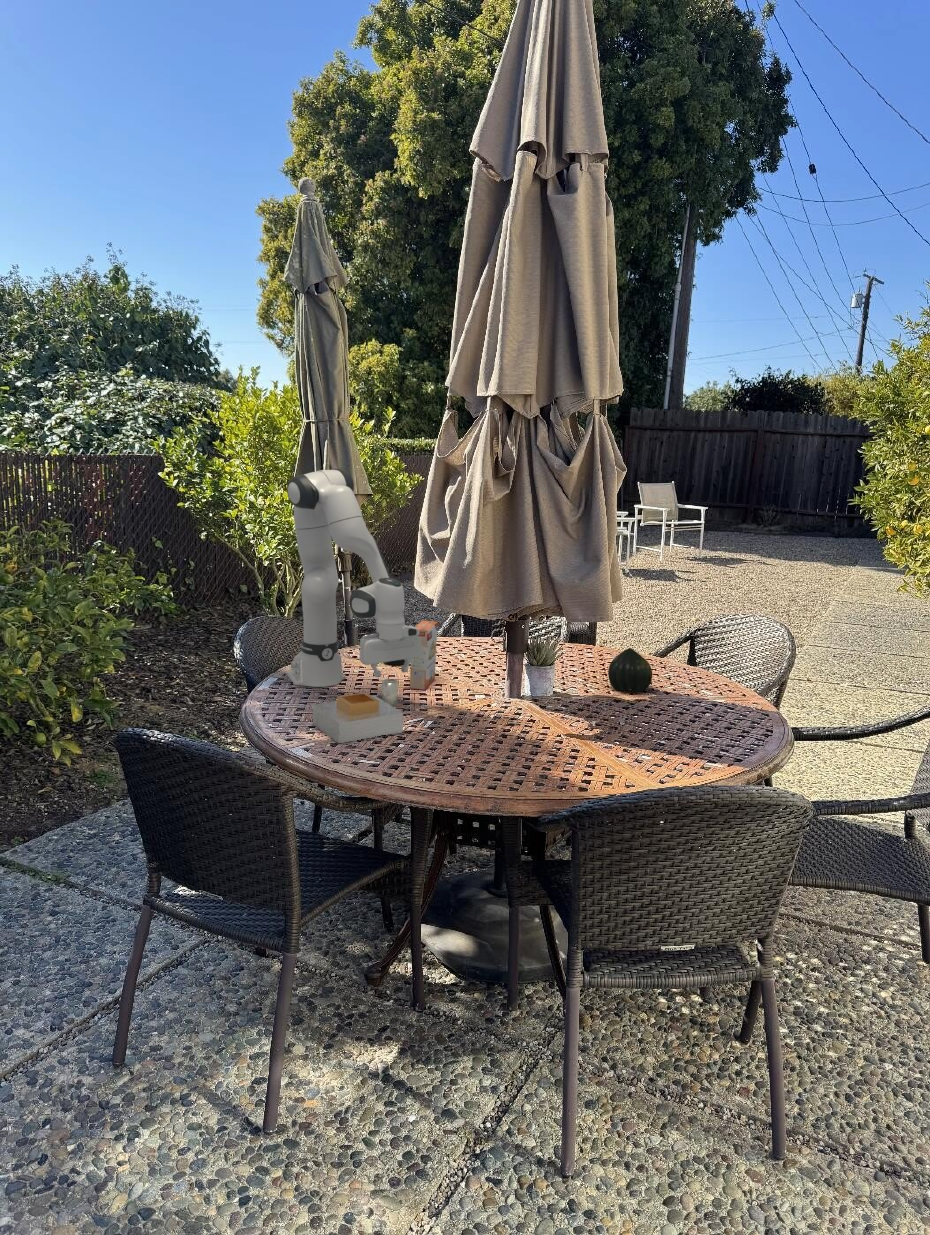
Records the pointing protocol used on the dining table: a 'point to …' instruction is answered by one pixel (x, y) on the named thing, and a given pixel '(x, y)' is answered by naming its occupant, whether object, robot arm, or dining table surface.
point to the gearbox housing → (357, 718)
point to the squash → (630, 672)
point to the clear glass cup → (390, 691)
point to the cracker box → (424, 657)
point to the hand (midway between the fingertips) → (391, 674)
